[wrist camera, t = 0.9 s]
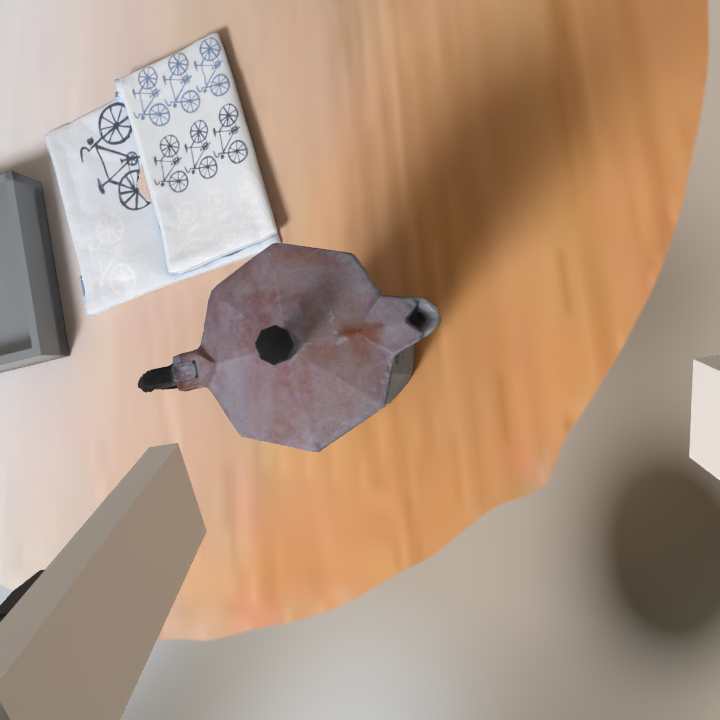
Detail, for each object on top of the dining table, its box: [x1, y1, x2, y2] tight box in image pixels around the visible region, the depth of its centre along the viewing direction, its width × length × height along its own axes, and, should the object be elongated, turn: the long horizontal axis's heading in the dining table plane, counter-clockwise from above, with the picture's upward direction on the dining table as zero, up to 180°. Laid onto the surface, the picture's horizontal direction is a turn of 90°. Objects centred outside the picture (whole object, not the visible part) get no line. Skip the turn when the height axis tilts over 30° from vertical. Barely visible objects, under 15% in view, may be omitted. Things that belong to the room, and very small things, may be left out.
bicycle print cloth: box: [44, 32, 281, 316], centre depth 42 cm, size 19×20×2 cm
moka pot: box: [138, 243, 441, 452], centre depth 28 cm, size 10×15×20 cm, turn 107°
